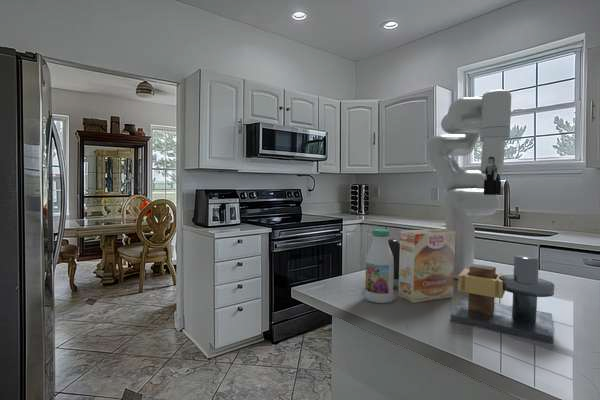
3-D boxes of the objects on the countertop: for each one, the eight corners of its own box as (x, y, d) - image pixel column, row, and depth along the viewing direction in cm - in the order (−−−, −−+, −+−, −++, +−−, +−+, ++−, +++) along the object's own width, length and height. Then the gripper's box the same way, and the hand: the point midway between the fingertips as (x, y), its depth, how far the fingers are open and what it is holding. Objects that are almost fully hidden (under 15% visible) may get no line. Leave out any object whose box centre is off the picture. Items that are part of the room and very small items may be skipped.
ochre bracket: (458, 291, 86) (458, 275, 85) (468, 278, 97) (469, 264, 97) (502, 298, 80) (502, 281, 80) (507, 284, 92) (508, 269, 92)
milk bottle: (375, 293, 104) (376, 227, 103) (398, 299, 98) (399, 230, 97) (359, 299, 98) (361, 229, 97) (383, 306, 93) (385, 232, 92)
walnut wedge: (468, 309, 87) (469, 266, 86) (472, 305, 90) (474, 263, 89) (490, 314, 83) (491, 270, 83) (494, 310, 86) (495, 267, 86)
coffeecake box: (413, 303, 95) (415, 233, 94) (397, 295, 102) (398, 230, 101) (454, 297, 101) (456, 231, 100) (436, 290, 107) (438, 228, 106)
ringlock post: (450, 320, 83) (452, 255, 82) (463, 302, 96) (465, 245, 96) (552, 343, 72) (556, 268, 71) (551, 319, 85) (554, 255, 84)
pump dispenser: (396, 292, 104) (397, 243, 103) (368, 284, 112) (369, 238, 111) (414, 286, 111) (415, 239, 110) (387, 279, 119) (388, 235, 118)
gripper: (484, 139, 108) (482, 193, 109) (475, 132, 94) (472, 194, 95) (512, 137, 104) (509, 194, 105) (507, 130, 90) (504, 195, 91)
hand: (492, 194), depth 100 cm, fingers open, 9 cm apart
